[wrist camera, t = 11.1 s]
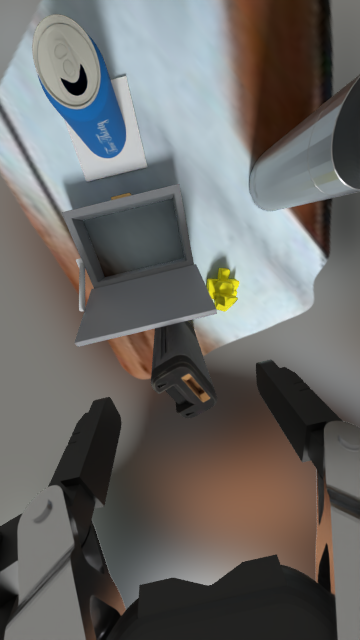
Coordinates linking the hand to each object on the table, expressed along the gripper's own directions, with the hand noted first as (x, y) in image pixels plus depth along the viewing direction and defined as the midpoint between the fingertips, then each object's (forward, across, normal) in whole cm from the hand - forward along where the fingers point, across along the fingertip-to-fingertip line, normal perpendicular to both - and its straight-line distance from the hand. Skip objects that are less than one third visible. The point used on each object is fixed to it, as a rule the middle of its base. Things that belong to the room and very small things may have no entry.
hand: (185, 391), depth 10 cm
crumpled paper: (+30, -10, +5) cm, 32 cm away
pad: (+30, +4, -23) cm, 38 cm away
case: (+30, +4, -6) cm, 31 cm away
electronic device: (+30, +1, +11) cm, 32 cm away
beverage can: (+30, +4, -23) cm, 38 cm away
